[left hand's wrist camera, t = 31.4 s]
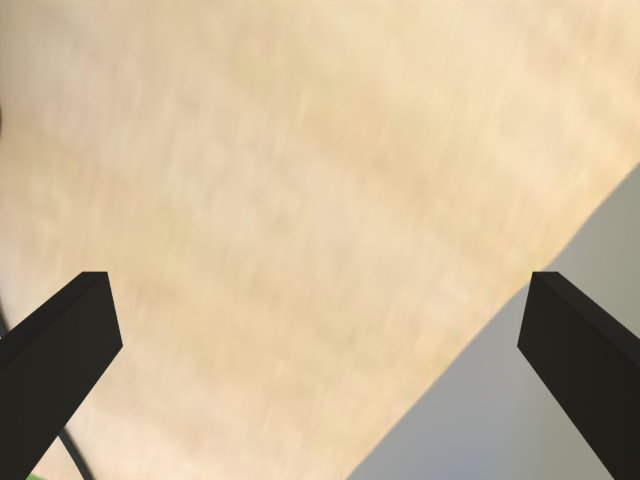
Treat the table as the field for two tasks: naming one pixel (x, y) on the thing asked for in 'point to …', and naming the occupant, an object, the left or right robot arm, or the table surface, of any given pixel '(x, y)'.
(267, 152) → the table surface
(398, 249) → the table surface
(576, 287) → the left robot arm
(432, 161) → the table surface
